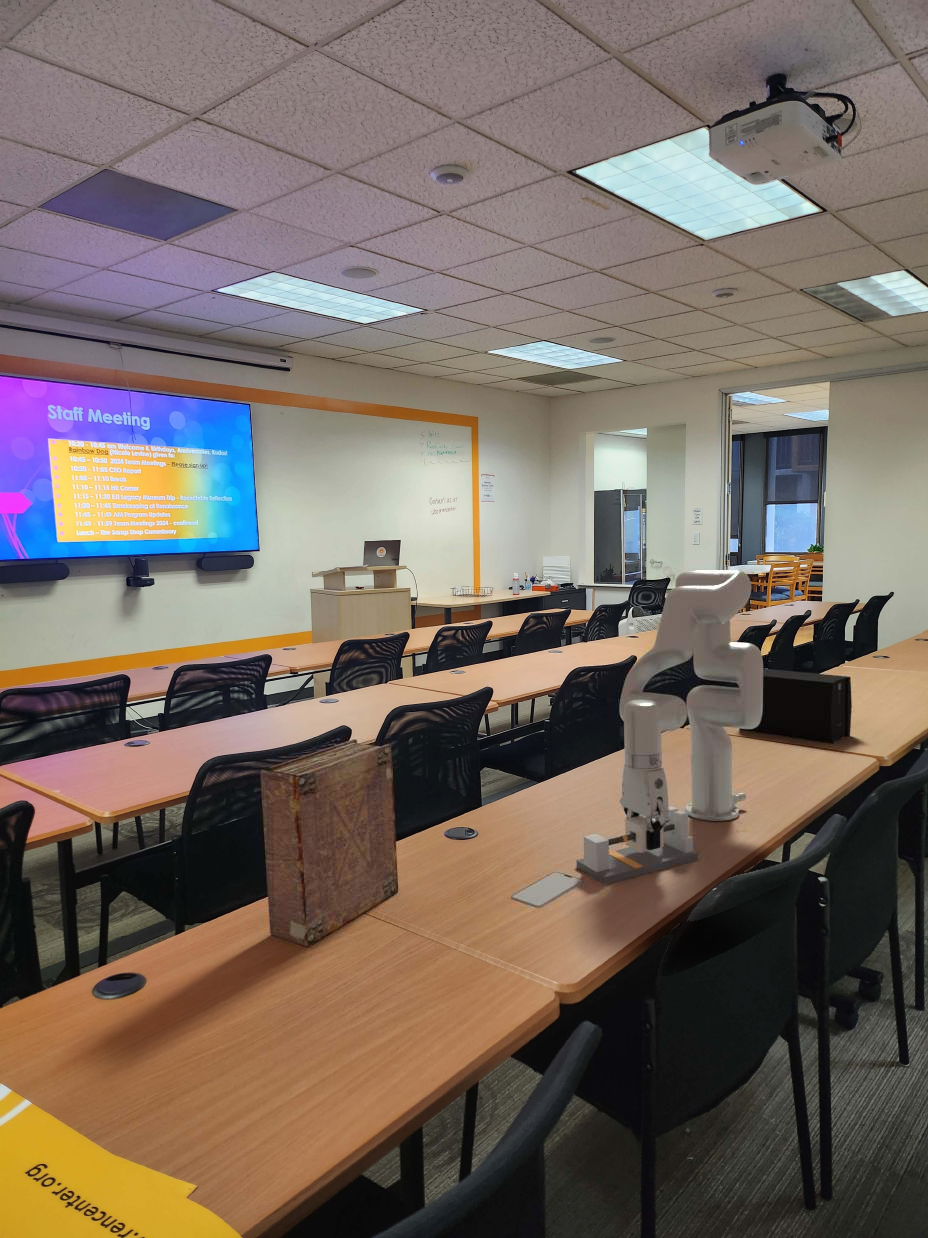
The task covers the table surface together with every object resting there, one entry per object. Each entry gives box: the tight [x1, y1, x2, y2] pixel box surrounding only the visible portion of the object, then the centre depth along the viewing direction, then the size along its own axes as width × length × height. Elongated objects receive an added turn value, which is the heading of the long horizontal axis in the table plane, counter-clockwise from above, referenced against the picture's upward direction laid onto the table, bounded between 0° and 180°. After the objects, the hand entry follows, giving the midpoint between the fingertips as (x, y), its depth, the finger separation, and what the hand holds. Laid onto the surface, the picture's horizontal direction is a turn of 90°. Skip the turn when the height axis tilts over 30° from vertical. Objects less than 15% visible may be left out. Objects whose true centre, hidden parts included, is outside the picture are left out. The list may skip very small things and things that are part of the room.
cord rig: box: [576, 805, 699, 885], centre depth 168 cm, size 24×10×10 cm, turn 117°
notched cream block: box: [624, 815, 664, 852], centre depth 169 cm, size 6×5×6 cm
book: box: [259, 739, 399, 948], centre depth 149 cm, size 25×9×30 cm, turn 147°
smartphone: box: [510, 871, 584, 908], centre depth 157 cm, size 7×1×15 cm
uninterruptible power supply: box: [737, 668, 853, 745], centre depth 275 cm, size 16×34×20 cm, turn 43°
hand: (644, 843), depth 169 cm, fingers closed on notched cream block, 5 cm apart
